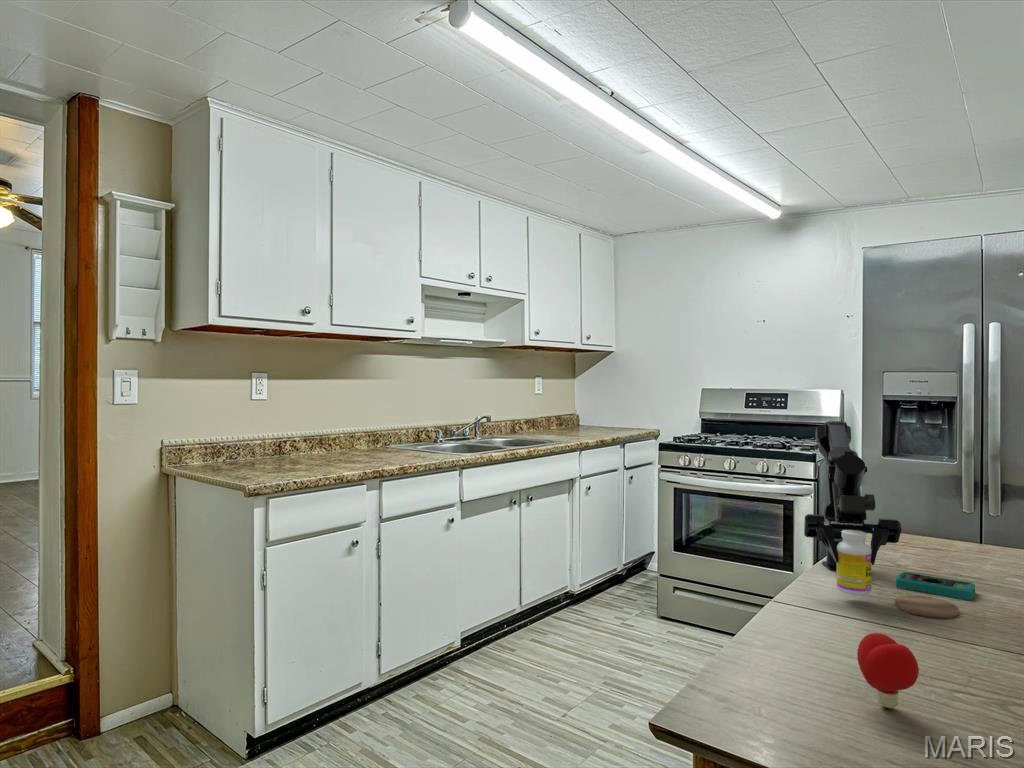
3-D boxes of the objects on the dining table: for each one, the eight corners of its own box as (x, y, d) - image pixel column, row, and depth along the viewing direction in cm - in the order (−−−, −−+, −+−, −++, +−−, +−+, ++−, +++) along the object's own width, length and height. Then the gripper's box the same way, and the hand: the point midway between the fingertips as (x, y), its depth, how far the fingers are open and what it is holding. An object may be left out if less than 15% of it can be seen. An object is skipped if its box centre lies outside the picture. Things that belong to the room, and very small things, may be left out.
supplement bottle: (870, 599, 135) (870, 537, 135) (835, 593, 138) (834, 533, 138) (872, 589, 141) (872, 530, 140) (838, 584, 144) (838, 527, 144)
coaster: (885, 599, 141) (885, 594, 141) (939, 600, 140) (939, 596, 140) (911, 617, 130) (911, 612, 130) (969, 619, 129) (969, 614, 129)
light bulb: (845, 694, 99) (844, 628, 99) (889, 692, 99) (888, 626, 99) (885, 726, 89) (885, 653, 89) (933, 723, 90) (933, 651, 90)
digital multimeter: (900, 581, 155) (900, 569, 155) (976, 594, 145) (976, 581, 145) (893, 589, 149) (892, 576, 149) (971, 603, 139) (971, 589, 139)
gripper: (804, 478, 146) (808, 538, 136) (899, 482, 140) (911, 546, 129) (802, 506, 154) (806, 566, 143) (892, 511, 147) (903, 574, 137)
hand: (854, 562), depth 138 cm, fingers closed on supplement bottle, 7 cm apart
